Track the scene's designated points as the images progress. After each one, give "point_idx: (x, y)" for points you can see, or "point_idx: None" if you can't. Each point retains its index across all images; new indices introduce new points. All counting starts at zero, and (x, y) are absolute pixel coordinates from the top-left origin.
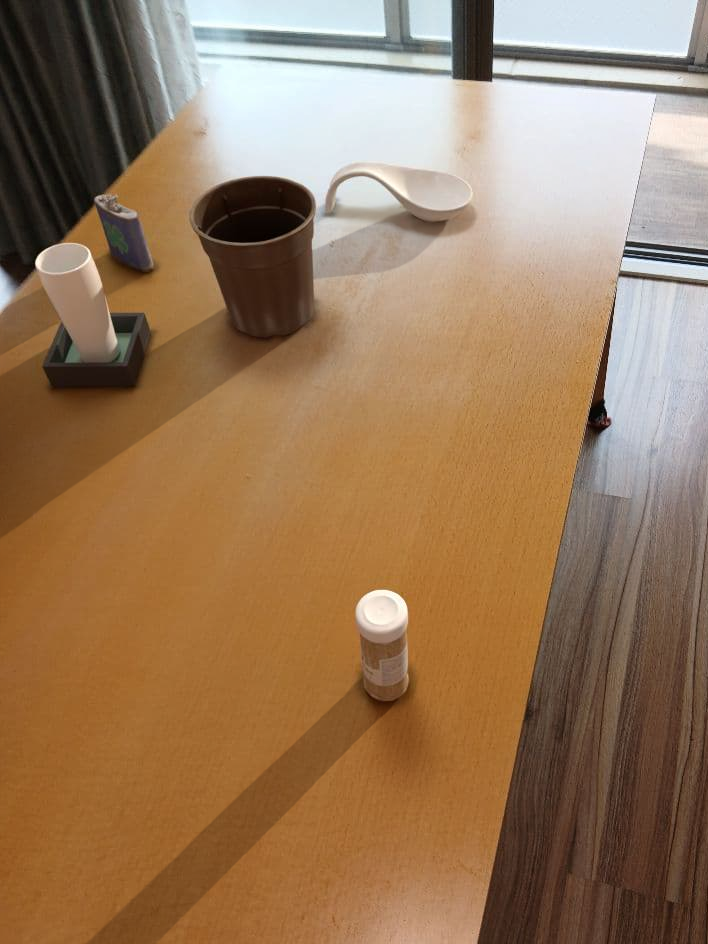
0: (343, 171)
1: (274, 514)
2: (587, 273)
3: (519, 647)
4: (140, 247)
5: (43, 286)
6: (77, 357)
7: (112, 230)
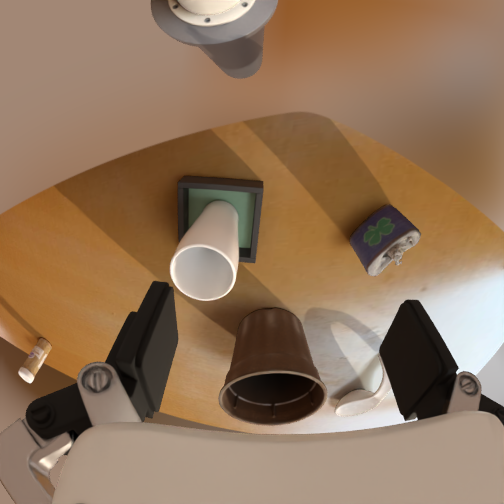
0: (389, 381)
1: (94, 322)
2: (278, 432)
3: (71, 376)
4: (357, 254)
5: (190, 233)
6: (218, 195)
7: (381, 234)
